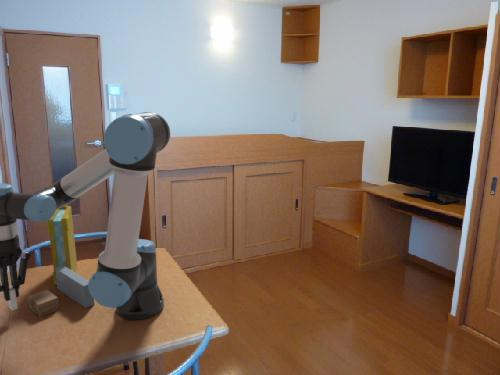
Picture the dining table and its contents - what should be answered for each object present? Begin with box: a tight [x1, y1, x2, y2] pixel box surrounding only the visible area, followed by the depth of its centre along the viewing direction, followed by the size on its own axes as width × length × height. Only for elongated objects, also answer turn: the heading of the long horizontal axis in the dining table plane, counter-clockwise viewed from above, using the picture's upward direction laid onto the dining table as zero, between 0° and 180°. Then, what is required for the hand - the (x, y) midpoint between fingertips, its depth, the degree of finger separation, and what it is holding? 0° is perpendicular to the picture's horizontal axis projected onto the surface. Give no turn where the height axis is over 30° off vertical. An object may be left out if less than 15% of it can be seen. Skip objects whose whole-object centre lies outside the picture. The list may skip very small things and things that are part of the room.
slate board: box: [55, 265, 95, 309], centre depth 138 cm, size 20×3×8 cm, turn 50°
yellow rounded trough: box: [46, 205, 78, 286], centre depth 153 cm, size 17×7×25 cm, turn 17°
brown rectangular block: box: [27, 289, 60, 318], centre depth 131 cm, size 8×6×4 cm
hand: (13, 307), depth 124 cm, fingers closed
